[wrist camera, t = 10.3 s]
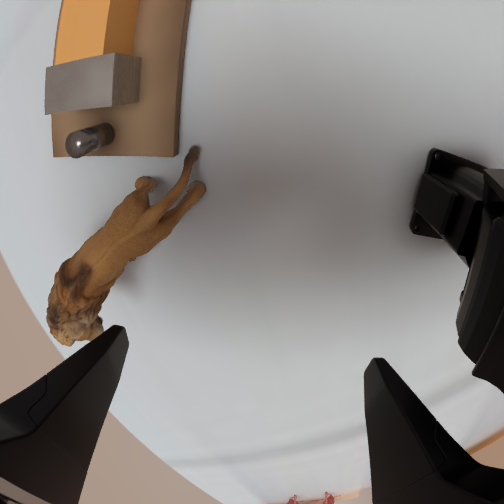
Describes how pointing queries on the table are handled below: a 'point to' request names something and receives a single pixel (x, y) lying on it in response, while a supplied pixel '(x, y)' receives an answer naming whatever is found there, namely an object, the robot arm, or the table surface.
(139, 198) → the lion figurine
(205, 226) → the table surface
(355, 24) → the table surface
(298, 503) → the figurine
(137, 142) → the board
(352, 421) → the table surface
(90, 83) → the hammer
